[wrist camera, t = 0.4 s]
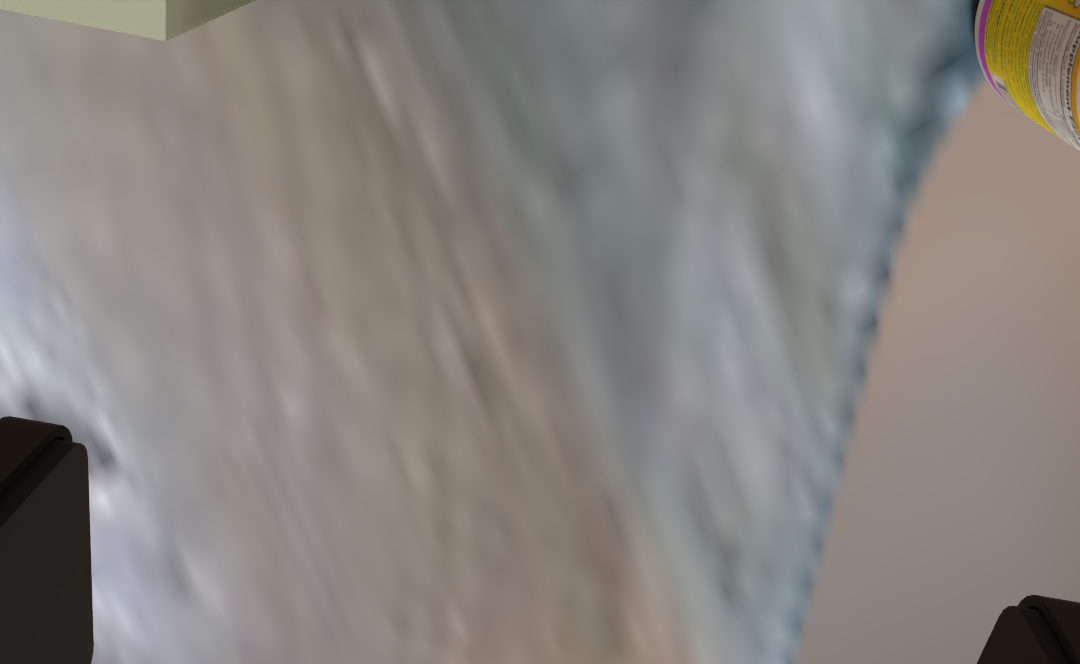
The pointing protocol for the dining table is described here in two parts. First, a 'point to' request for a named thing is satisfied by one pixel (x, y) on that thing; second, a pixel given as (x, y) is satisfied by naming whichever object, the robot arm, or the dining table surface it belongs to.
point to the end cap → (129, 14)
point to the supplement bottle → (1034, 59)
